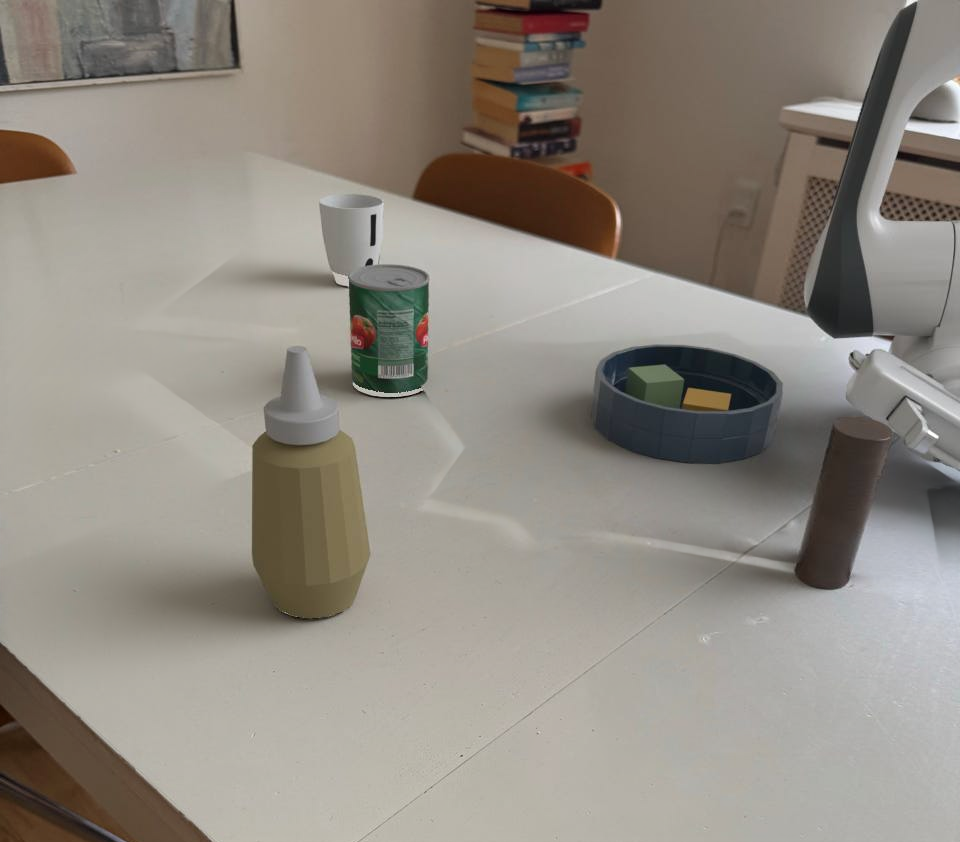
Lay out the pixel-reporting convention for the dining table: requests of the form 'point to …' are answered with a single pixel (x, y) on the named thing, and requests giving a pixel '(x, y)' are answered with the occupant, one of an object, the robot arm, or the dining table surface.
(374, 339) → the canned tomato
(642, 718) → the dining table surface
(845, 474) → the brown wooden dowel
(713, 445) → the bowl
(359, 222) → the cup
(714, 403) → the block ochre
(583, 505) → the dining table surface
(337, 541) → the squeeze bottle
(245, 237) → the dining table surface
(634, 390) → the block sage
